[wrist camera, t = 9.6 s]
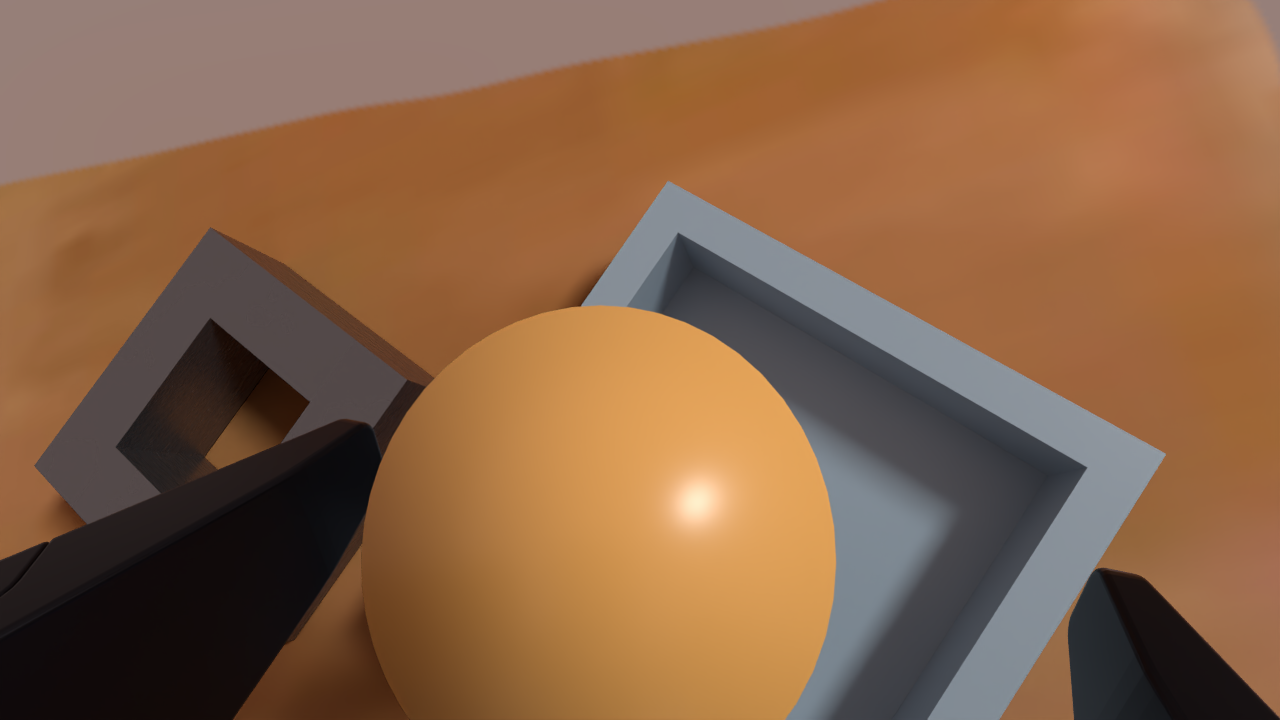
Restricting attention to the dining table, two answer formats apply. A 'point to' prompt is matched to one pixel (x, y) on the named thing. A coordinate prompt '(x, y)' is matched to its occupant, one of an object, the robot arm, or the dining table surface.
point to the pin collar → (222, 381)
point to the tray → (902, 467)
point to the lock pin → (598, 531)
